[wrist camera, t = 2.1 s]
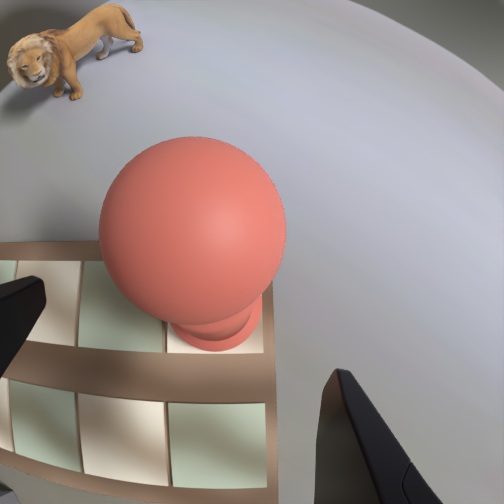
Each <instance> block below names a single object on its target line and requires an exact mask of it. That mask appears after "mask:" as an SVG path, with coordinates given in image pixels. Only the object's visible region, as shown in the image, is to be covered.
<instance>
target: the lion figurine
mask: <svg viewBox="0 0 504 504" xmlns="http://www.w3.org/2000/svg"><path fill="white" fill-rule="evenodd" d="M112 37H114V38H117V39H121V40H133V41H135V44H134V45H133V46H132V47H131V49H132V52H139V51H141V50H142V49H143V42H142V39H141V36H140V31H137V30H135V26H134V24H133V21H132V19H131V17H130V15H129V14H128V12H127V11H126V10H125V9H124V8H123V7H121V6H119V5H115V4H107V5H104V6H101V7H98V8H95V9H93V10H92V11H90V12H89V13H88V14H87V15H86V16H85V17H83V18H82V19H81V20H80V21H78V22H77V23H76V24H74V25H73V26H71V27H70V28H68V29H64V30H57V29H49V30H47V31H45V32H41V33H39V34H37V33H33V34H31V35H28V36H26V37H24V38H22V39H21V40H20V41H18V42H16V44H15V45H14V46H13V47H12V48H11V49H10V52H9V55H8V60H7V64H8V71H9V74H11V75H12V77H13V79H14V81H15V82H16V84H17V85H19V86H20V87H22V88H24V89H30V88H33V87H36V86H40V85H41V86H43V87H48V86H50V85H52V84H53V83H54V84H55V86H56V87H57V88H56V89H55V91H54V96H55V97H59V96H61V95H62V94H63V93H64V91H65V86H64V84H65V82H64V80H63V78H64V79H65V80H66V81H67V83H68V84H69V85H70V87H71V90H72V93H71V95H70V97H71V99H72V100H76V99H79V98H81V96H82V87H81V85H80V83H79V81H78V78H77V74H76V63H75V62H76V61H78V60H79V59H81V58H82V57H84V56H85V55H87V54H88V53H89V52H90V51H91V50H92V49H93V48H94V46H95V45H96V44H97V42H98V40H99V39H100V40H102V42H103V44H104V48H103V50H102V51H101V52H99V53H98V54H97V59H100V60H101V59H103V58H105V57H107V56H108V54H109V51H110V48H111V46H112V44H113V39H112ZM62 77H63V78H62Z"/></svg>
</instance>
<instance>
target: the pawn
mask: <svg viewBox="0 0 504 504" xmlns="http://www.w3.org/2000/svg"><path fill="white" fill-rule="evenodd" d="M285 241H286V220H285V213H284V208H283V205H282V201H281V198H280V196H279V194H278V191H277V189H276V187H275V185H274V183H273V182H272V180H271V178H270V177H269V175H268V174H267V173H266V172H265V170H264V169H263V168H262V167H261V166H260V165H259V164H258V163H257V162H256V161H255V160H254V159H253V158H252V157H251V156H249V155H248V154H246V153H245V152H243V151H242V150H240V149H238V148H236V147H234V146H232V145H230V144H228V143H225V142H222V141H220V140H216V139H212V138H205V137H181V138H176V139H171V140H167V141H164V142H161V143H158V144H156V145H154V146H151V147H150V148H148V149H146V150H144V151H143V152H141V153H140V154H138V155H137V156H136V157H134V158H133V159H132V160H131V161H130V162H129V163H127V164H126V166H125V167H124V168H123V169H122V170H121V171H120V173H119V174H118V175H117V177H116V178H115V180H114V181H113V183H112V184H111V186H110V188H109V190H108V192H107V194H106V197H105V200H104V202H103V206H102V210H101V215H100V222H99V242H100V248H101V253H102V258H103V261H104V263H105V266H106V269H107V271H108V273H109V275H110V277H111V278H112V280H113V282H114V284H115V285H116V286H117V288H118V289H119V291H120V292H121V293H122V294H123V295H124V296H125V297H126V298H127V299H128V300H129V301H130V302H131V303H132V304H133V305H135V306H136V307H137V308H139V309H140V310H141V311H143V312H145V313H147V314H149V315H150V316H152V317H155V318H157V319H160V320H163V321H166V322H170V325H171V327H172V328H173V330H174V331H175V333H176V334H177V335H178V336H179V337H180V338H181V339H182V340H183V341H185V342H186V343H188V344H189V345H191V346H193V347H195V348H198V349H201V350H204V351H210V352H220V351H226V350H229V349H232V348H234V347H236V346H238V345H240V344H241V343H243V342H244V341H245V340H246V339H247V338H248V337H249V336H250V335H251V334H252V332H253V331H254V329H255V328H256V326H257V324H258V322H259V319H260V316H261V311H262V296H261V294H262V293H263V292H264V291H265V289H266V288H267V287H268V286H269V284H270V283H271V281H272V279H273V278H274V276H275V274H276V272H277V270H278V268H279V266H280V263H281V259H282V256H283V252H284V248H285Z"/></svg>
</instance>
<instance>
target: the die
mask: <svg viewBox="0 0 504 504" xmlns="http://www.w3.org/2000/svg"><path fill="white" fill-rule="evenodd" d="M0 504H20V503H19V501H18V499H17V497H16V495H15V493H14V491H1V490H0Z"/></svg>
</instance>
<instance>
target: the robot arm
mask: <svg viewBox="0 0 504 504" xmlns="http://www.w3.org/2000/svg"><path fill="white" fill-rule="evenodd" d="M46 303H47V298H46V292H45V286H44V281H43V280H42V279H41V278H39V277H37V276H34V275H30V276H27V277H23V278H20V279H16V280H13V281H10V282H6V283H3V284H0V379H1V377H2V376H3V374H4V373H5V371H6V370H7V368H8V366H9V365H10V363H11V362H12V360H13V359H14V357H15V356H16V354H17V353H18V352H19V350H20V349H21V347H22V346H23V344H24V343H25V341H26V339H27V338H28V336H29V334H30V332H31V331H32V329H33V327H34V325H35V324H36V322H37V320H38V318H39V317H40V315H41V313H42V312H43V310H44V308H45V306H46ZM410 461H411V460H410V458H409V457H408V455H407V454H406V452H405V451H404V449H403V448H402V446H401V445H400V443H399V442H398V441H397V439H396V438H395V436H394V435H393V433H392V432H391V430H390V429H389V427H388V426H387V424H386V423H385V421H384V420H383V418H382V417H381V415H380V414H379V413H378V411H377V410H376V408H375V407H374V405H373V404H372V402H371V401H370V399H369V398H368V396H367V395H366V394H365V392H364V391H363V389H362V388H361V386H360V385H359V383H358V382H357V380H356V379H355V378H354V376H353V375H352V373H351V372H350V371H348V370H344V369H339V368H337V369H335V370H334V371H333V373H332V374H331V376H330V378H329V380H328V381H327V383H326V385H325V387H324V389H323V393H322V400H321V408H320V416H319V424H318V431H317V439H316V470H315V496H314V504H443V503H442V502H441V500H440V499H439V498H438V497H437V496H436V494H435V493H434V492H433V491H432V489H431V488H430V487H429V486H428V484H427V483H426V481H425V480H424V479H423V477H422V476H421V474H420V473H419V472H418V470H417V469H416V467H415V466H414V464H413V463H412V462H410Z"/></svg>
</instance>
